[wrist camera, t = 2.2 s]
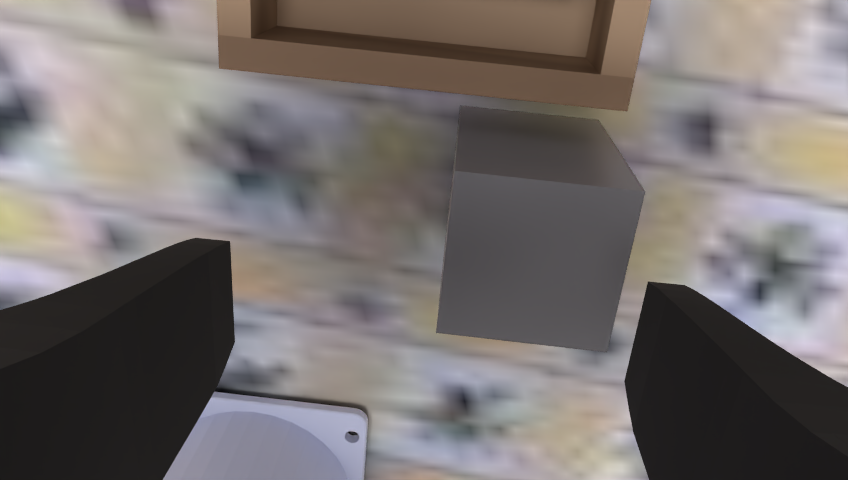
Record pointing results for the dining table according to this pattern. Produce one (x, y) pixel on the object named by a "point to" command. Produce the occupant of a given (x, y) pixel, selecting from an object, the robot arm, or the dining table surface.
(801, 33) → the dining table surface
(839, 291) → the dining table surface
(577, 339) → the grey rectangular block
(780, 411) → the robot arm
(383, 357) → the dining table surface
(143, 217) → the dining table surface
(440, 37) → the box
